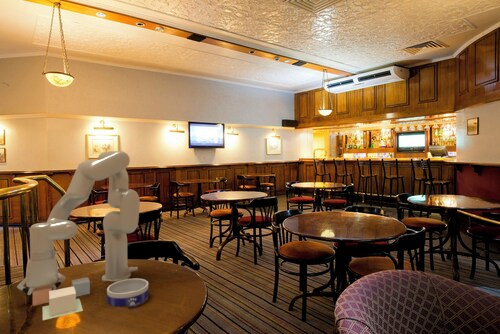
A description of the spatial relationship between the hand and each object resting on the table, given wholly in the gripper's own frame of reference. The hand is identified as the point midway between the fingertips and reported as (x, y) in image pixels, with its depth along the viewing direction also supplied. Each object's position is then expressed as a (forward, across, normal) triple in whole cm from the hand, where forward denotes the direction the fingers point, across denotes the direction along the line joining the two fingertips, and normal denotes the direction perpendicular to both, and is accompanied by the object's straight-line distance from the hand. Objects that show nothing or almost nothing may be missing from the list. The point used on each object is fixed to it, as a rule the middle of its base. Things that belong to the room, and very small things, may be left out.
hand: (42, 301), depth 117 cm
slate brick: (+1, -13, 0) cm, 13 cm away
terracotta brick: (+1, 0, 0) cm, 1 cm away
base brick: (0, -6, +12) cm, 13 cm away
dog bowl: (+1, -28, +16) cm, 32 cm away
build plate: (+1, -6, +12) cm, 13 cm away
